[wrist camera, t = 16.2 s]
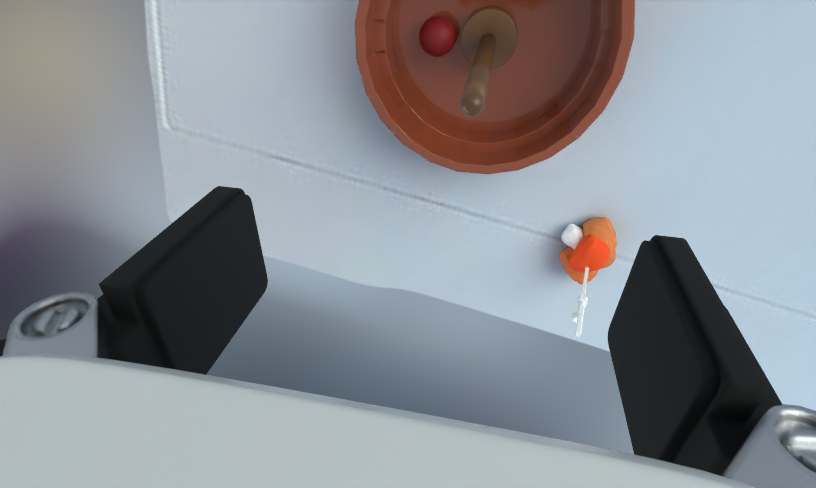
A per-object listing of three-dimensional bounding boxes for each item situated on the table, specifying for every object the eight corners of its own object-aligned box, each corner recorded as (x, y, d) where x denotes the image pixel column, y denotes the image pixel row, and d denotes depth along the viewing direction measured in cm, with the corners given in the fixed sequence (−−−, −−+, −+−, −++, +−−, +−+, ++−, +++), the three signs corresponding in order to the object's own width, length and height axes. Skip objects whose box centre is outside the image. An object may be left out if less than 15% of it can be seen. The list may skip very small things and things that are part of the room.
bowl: (372, -116, 33) (347, -126, 28) (653, -116, 30) (680, -127, 25) (377, 137, 44) (361, 162, 39) (583, 156, 41) (593, 184, 36)
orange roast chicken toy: (536, 273, 49) (541, 355, 40) (575, 202, 44) (592, 277, 34) (588, 290, 49) (606, 376, 40) (634, 221, 44) (668, 301, 34)
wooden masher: (465, 4, 36) (426, 54, 20) (521, 6, 35) (527, 60, 19) (460, 62, 38) (423, 147, 22) (512, 65, 37) (512, 155, 22)
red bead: (448, 12, 37) (414, 13, 36) (464, 17, 34) (427, 19, 34) (446, 51, 38) (413, 53, 38) (460, 59, 36) (426, 61, 35)
